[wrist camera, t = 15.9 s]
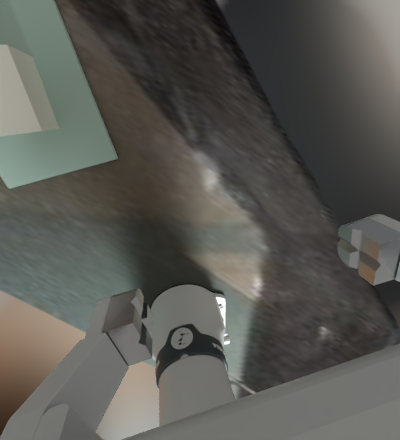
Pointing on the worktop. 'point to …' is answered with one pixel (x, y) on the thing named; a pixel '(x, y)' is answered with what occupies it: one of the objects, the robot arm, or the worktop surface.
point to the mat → (51, 99)
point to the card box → (22, 95)
